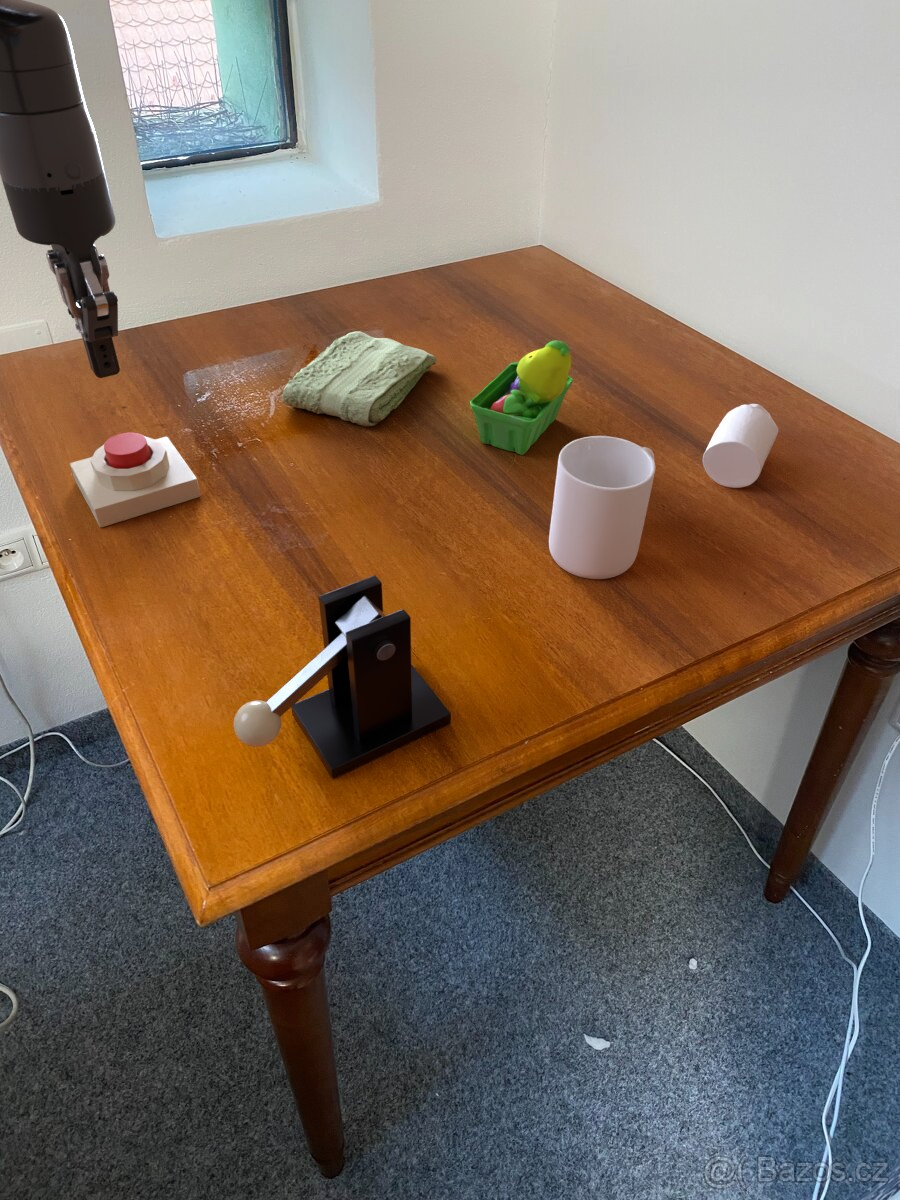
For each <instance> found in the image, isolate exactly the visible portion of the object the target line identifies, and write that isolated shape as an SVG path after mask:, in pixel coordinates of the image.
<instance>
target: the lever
mask: <svg viewBox="0 0 900 1200" xmlns="http://www.w3.org/2000/svg"><path fill="white" fill-rule="evenodd" d="M384 616H386V615H385V613H384V611H383V612H382V611H381V610H380V609H379V608H378V607H377V606H376V605H375V604H374V603H373V602H372V601H370V600H369V599H368V598H367V597H366V596H363V597H362V598H361V599H360V600H359V601H358V602H356V603H355V604H354V605H353V606H352V607H351V608H350V609H349V610H348V611H347V612H345V613H344V614H343V615H342V616H341V617H340V618H339V619H338V620H337V621H336V622H335V624H336V625H337V626H338V628H339V629H340V630H341V632H342V633H341V634H340V635H339V636H338V637H337V638H336V639H335V640H334V641H333V642H331V643H330V644H329V645H328V646H327V647H326V648H325V649H324V648H323V650H321V651H320V652H319V653H318V654H317V655H316V656H315V657H314V658H313V659H312V660H310V661H309V662H308V663H307V664H306V665H305V666H304V667H303V668H301V669H300V670H299V671H298V672H296V674H295V675H294V676H293V677H292V678H291V679H289V681H287V682H286V683H285V684H284V685H282V687H280V688H279V689H278V690H277V691H276V692H275V693H274V694H273V695H272V696H271V697H270V698H268V699H267V700H260V699H255V700H251V701H248V702H246V703H244V704H243V705H242V706H240V708H239V709H237V711H236V712H235V715H234V718H233V730H234V733H235V736H236V737H237V739H238V740H239V741H240V742H241V743H242V744H244V745H246V746H248V747H252V748H262V747H265V746H268V745H270V744H272V742H274V741H275V740H276V739H277V737H278V736H279V734H280V732H281V728H282V718H281V717H282V716H283V715H285V714H286V713H287V712H288V710H290V709H291V707H292V706H293V705H294V704H295V703H297V702H299V701H300V700H301V699H302V698H303V697H304V696H305V695H306V694H307V693H309V692H310V691H311V690H312V689H313V688H314V687H315V686H316V685H318V684H319V683H320V682H321V680H323V679H324V678H325V677H326V676H327V674H328V673H329V672H330V671H331V670H332V669H334V668H335V667H336V666H337V665H338V664H339V663H340V662H341V661H342V660H343V659H345V658H346V657H347V656H348V654H347V642H346V632H347V631H350V630H352V629H355V628H357V627H360V626H362V625H365V624H367V623H370V622H372V621H375V620H377V619H380V618H382V617H384Z"/></svg>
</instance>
